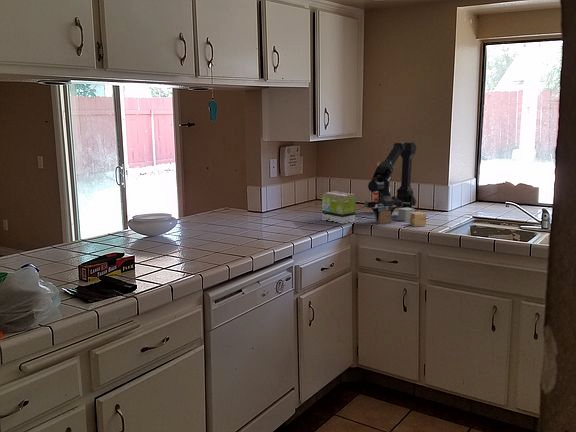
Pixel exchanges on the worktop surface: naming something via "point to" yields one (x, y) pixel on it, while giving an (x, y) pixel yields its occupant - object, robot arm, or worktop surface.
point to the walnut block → (384, 216)
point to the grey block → (404, 213)
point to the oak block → (418, 218)
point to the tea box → (338, 207)
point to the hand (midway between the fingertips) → (383, 220)
